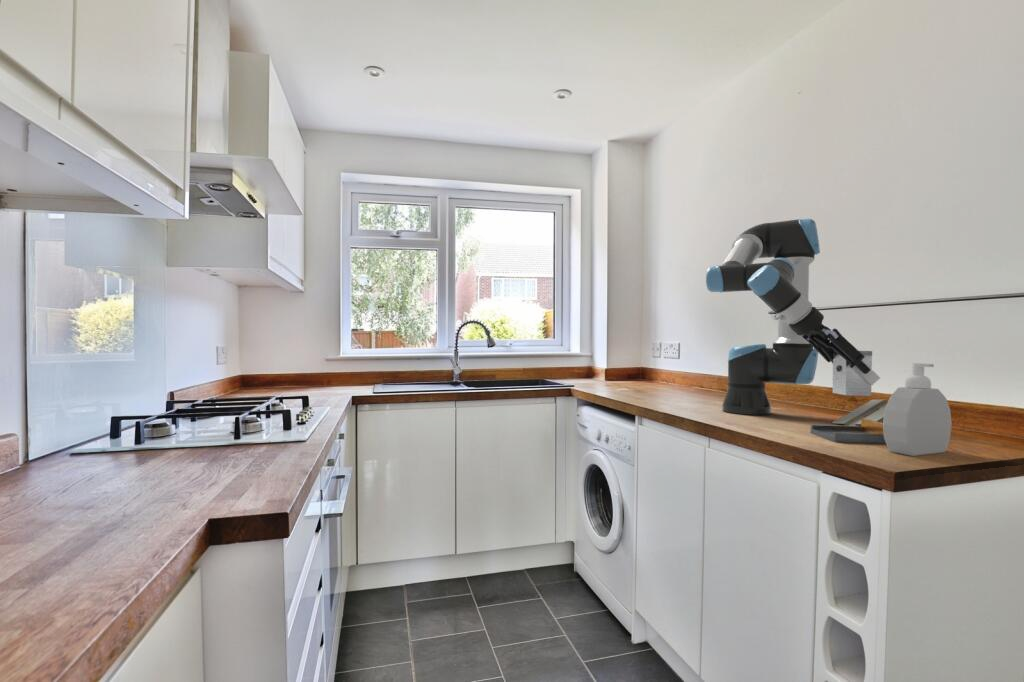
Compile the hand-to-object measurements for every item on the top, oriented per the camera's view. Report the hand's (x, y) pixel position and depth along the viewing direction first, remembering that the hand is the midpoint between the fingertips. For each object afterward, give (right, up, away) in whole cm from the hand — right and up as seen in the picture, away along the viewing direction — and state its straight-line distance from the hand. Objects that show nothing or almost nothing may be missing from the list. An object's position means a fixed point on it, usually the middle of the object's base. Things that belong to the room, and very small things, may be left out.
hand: (866, 380), depth 126 cm
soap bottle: (+1, -15, -15) cm, 21 cm away
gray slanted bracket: (+14, -15, +17) cm, 27 cm away
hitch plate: (-3, -15, +1) cm, 15 cm away
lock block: (-4, -4, 0) cm, 5 cm away
